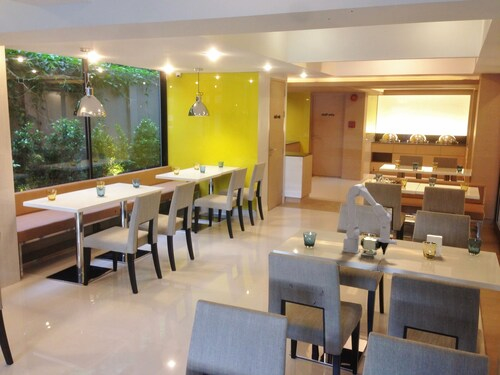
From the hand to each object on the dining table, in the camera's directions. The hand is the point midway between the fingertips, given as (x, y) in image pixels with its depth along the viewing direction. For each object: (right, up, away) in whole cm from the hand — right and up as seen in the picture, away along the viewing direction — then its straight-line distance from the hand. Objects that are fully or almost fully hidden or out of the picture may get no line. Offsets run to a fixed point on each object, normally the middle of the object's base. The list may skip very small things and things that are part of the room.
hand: (383, 254), depth 279 cm
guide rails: (-8, -1, +4) cm, 9 cm away
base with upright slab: (+34, -1, +9) cm, 36 cm away
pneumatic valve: (-7, -2, +4) cm, 8 cm away
